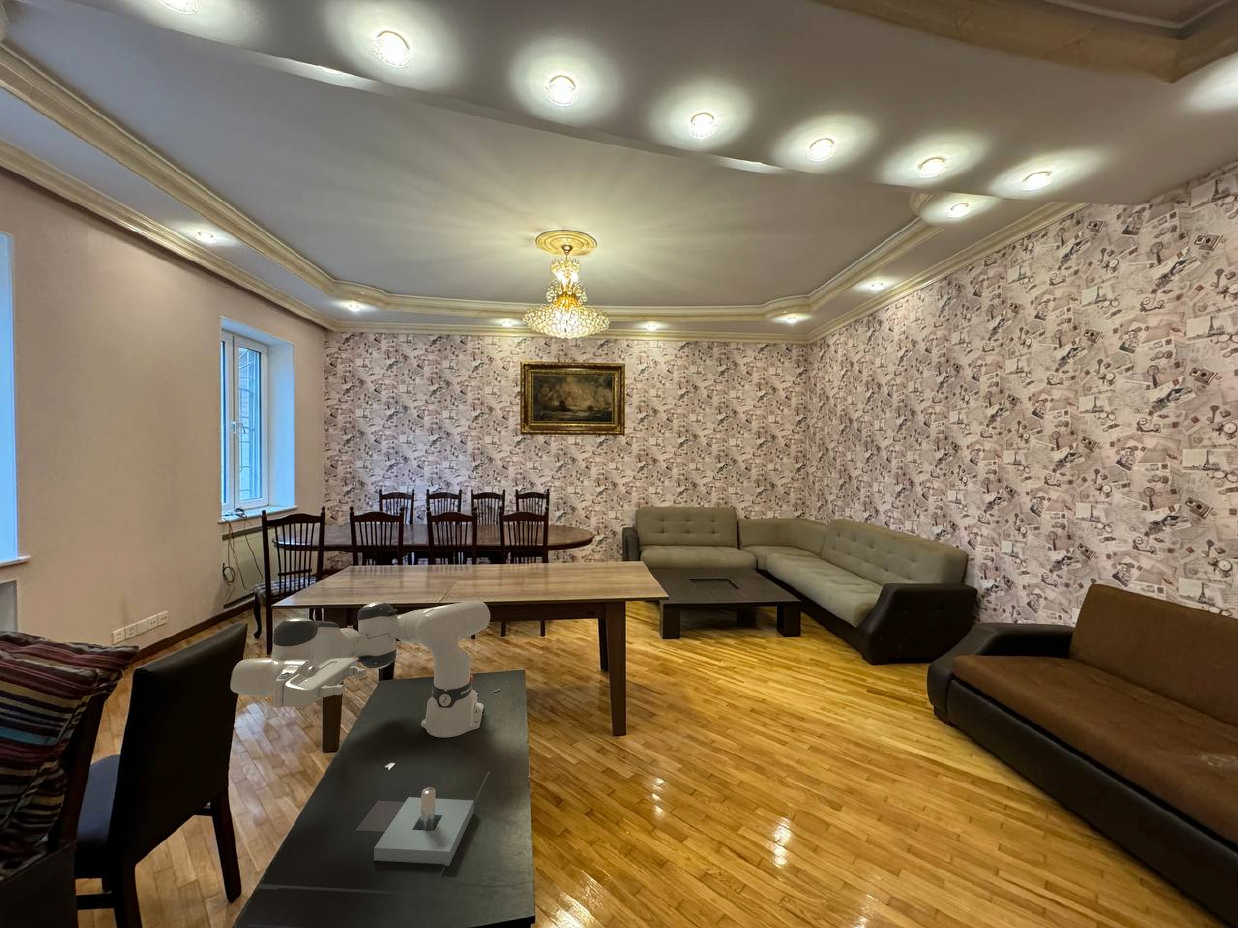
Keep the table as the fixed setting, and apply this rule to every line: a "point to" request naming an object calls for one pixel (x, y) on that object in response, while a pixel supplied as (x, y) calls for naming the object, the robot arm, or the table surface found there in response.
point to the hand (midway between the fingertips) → (354, 681)
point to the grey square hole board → (425, 833)
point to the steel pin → (427, 809)
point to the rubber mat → (380, 816)
